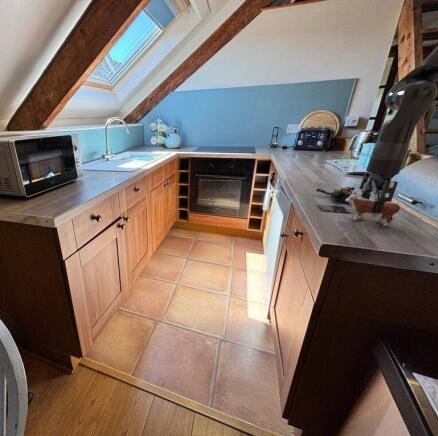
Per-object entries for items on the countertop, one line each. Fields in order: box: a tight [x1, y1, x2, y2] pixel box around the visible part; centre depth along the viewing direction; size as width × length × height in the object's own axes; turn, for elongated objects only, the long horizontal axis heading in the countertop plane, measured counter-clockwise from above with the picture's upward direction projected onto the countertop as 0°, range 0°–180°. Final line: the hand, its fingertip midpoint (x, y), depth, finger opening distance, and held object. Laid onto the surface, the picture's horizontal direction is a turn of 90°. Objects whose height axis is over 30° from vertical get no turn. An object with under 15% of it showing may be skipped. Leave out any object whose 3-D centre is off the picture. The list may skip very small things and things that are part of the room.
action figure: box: [316, 186, 357, 204], centre depth 100 cm, size 6×15×15 cm
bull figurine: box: [344, 193, 401, 227], centre depth 79 cm, size 4×13×8 cm, turn 44°
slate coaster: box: [318, 204, 350, 214], centre depth 91 cm, size 8×6×1 cm
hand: (368, 208), depth 79 cm, fingers open, 8 cm apart
